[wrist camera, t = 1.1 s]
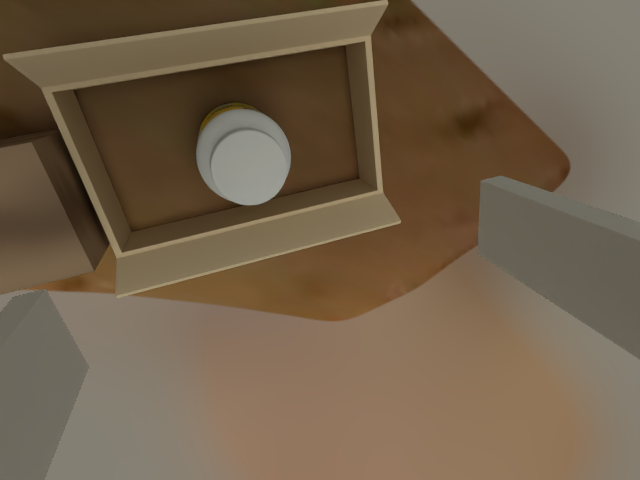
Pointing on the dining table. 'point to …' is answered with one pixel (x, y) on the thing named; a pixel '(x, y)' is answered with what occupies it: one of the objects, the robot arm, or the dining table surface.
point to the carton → (240, 222)
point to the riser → (44, 214)
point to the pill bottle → (242, 154)
